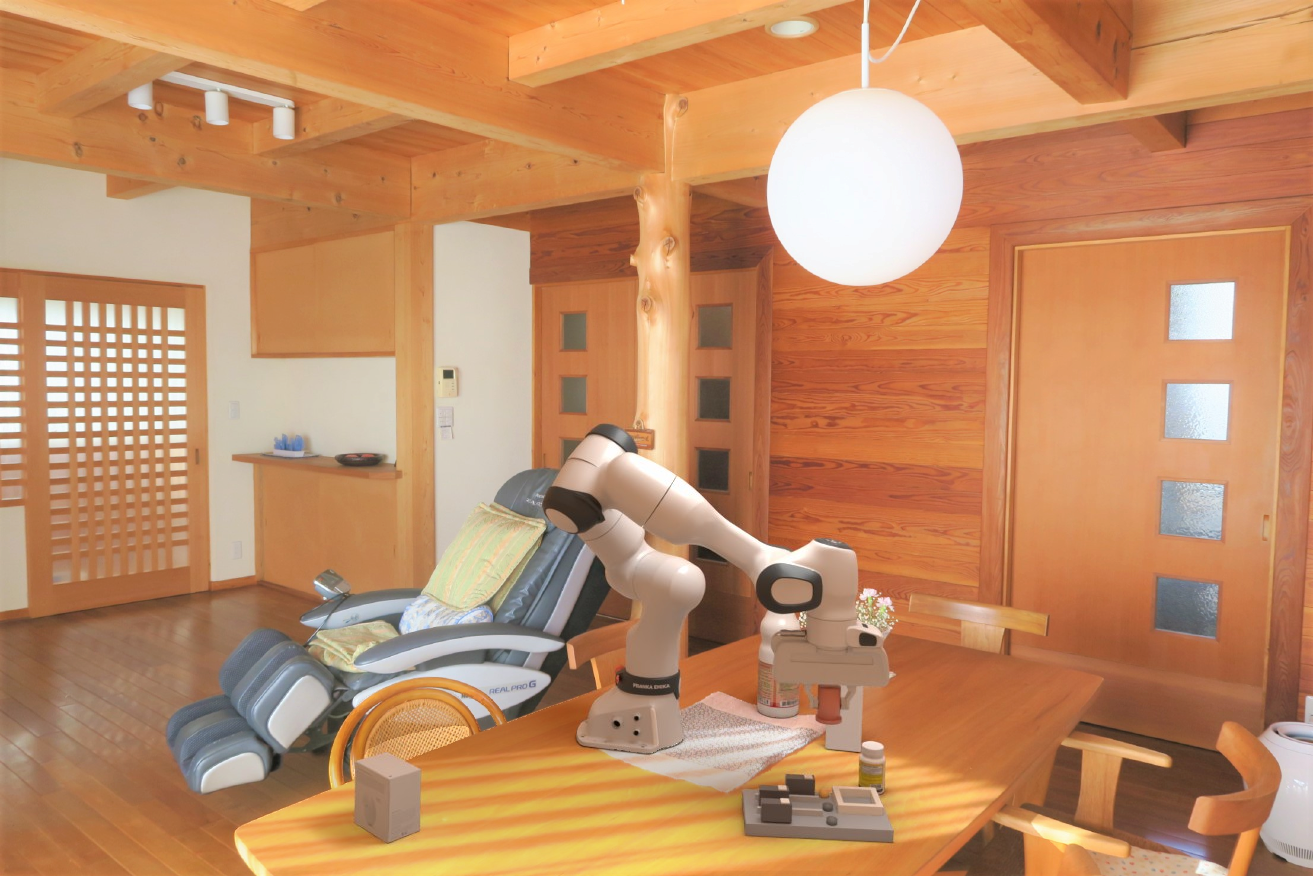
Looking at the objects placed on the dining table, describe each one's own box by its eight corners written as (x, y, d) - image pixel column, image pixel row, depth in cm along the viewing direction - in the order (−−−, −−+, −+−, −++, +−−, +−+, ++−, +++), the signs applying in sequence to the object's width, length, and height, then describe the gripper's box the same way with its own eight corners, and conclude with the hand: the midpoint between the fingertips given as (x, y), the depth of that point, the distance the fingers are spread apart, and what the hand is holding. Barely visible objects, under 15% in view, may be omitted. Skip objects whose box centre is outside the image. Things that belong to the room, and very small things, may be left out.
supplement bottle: (865, 781, 172) (867, 738, 172) (888, 789, 170) (890, 745, 169) (853, 790, 169) (855, 745, 168) (877, 798, 166) (879, 752, 165)
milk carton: (860, 753, 186) (864, 661, 185) (825, 749, 187) (828, 658, 186) (860, 740, 193) (863, 651, 192) (825, 736, 194) (829, 648, 193)
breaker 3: (785, 795, 161) (786, 777, 161) (784, 790, 163) (785, 772, 163) (814, 796, 161) (815, 778, 160) (813, 791, 163) (813, 774, 162)
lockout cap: (816, 724, 160) (817, 690, 160) (814, 714, 165) (815, 682, 164) (843, 725, 160) (844, 691, 159) (840, 715, 164) (841, 683, 164)
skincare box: (422, 830, 150) (422, 768, 150) (387, 844, 145) (387, 780, 145) (387, 809, 157) (387, 749, 157) (352, 822, 152) (352, 760, 152)
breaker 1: (759, 807, 156) (759, 788, 156) (758, 801, 158) (759, 783, 158) (788, 808, 156) (789, 790, 156) (787, 803, 158) (788, 785, 158)
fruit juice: (751, 714, 206) (755, 591, 205) (763, 701, 215) (767, 583, 213) (792, 721, 203) (796, 596, 201) (803, 708, 211) (807, 588, 209)
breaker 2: (761, 821, 151) (761, 802, 151) (760, 815, 153) (760, 796, 153) (791, 822, 151) (792, 803, 151) (790, 816, 153) (791, 798, 153)
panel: (745, 835, 151) (746, 814, 151) (742, 799, 164) (742, 780, 164) (893, 842, 150) (894, 821, 150) (878, 805, 163) (878, 786, 162)
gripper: (772, 633, 159) (770, 712, 160) (892, 638, 157) (890, 717, 158) (770, 624, 165) (768, 699, 166) (886, 628, 164) (883, 704, 164)
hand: (829, 708), depth 162 cm, fingers closed on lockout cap, 4 cm apart
